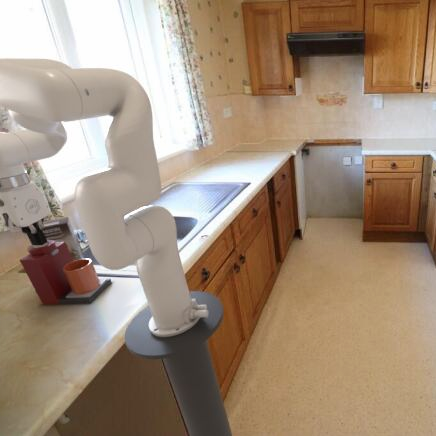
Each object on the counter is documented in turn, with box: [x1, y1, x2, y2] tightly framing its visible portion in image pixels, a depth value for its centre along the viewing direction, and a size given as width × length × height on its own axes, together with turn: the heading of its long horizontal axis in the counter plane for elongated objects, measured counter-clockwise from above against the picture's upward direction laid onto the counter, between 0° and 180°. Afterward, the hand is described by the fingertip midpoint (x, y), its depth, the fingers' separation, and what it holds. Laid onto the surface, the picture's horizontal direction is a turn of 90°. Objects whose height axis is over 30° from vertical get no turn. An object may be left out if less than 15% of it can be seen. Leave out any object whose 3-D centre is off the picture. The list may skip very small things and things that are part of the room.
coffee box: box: [42, 216, 85, 261], centre depth 110 cm, size 9×6×16 cm
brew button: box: [34, 243, 48, 248], centre depth 91 cm, size 3×3×2 cm
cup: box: [63, 258, 100, 294], centre depth 95 cm, size 7×7×8 cm
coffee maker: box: [50, 249, 113, 305], centre depth 94 cm, size 9×10×15 cm
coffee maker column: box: [19, 240, 73, 306], centre depth 94 cm, size 6×10×17 cm, turn 179°
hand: (40, 243), depth 90 cm, fingers closed
